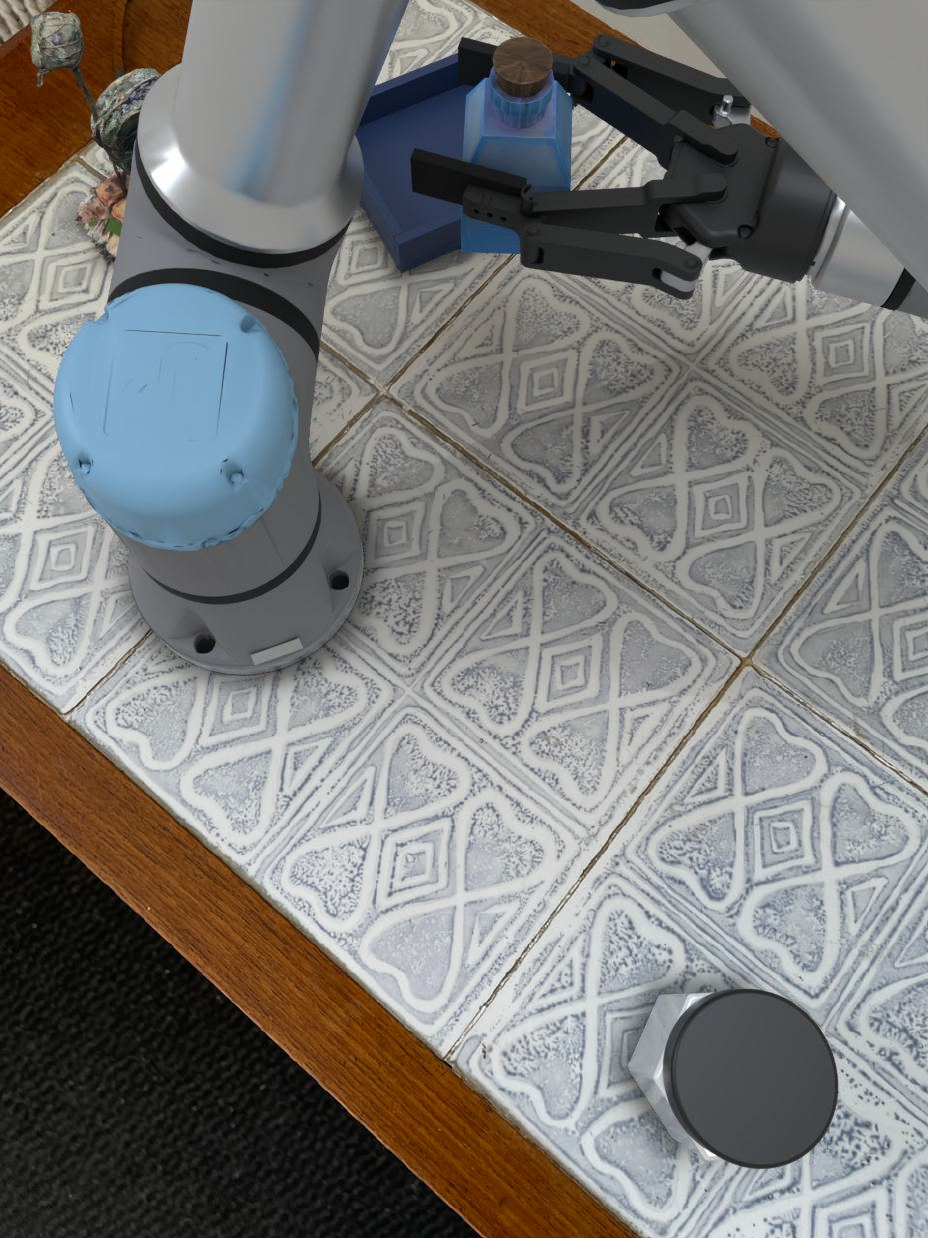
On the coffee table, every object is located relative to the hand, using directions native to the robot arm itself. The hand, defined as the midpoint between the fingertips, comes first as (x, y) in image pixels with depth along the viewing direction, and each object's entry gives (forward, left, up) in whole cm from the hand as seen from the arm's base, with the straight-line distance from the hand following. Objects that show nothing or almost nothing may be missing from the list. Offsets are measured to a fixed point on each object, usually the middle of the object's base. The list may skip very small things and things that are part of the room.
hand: (437, 113), depth 64 cm
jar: (+53, -10, -19) cm, 57 cm away
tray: (-10, +5, -18) cm, 22 cm away
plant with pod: (-17, -16, -19) cm, 30 cm away
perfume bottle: (+3, +3, -7) cm, 8 cm away
